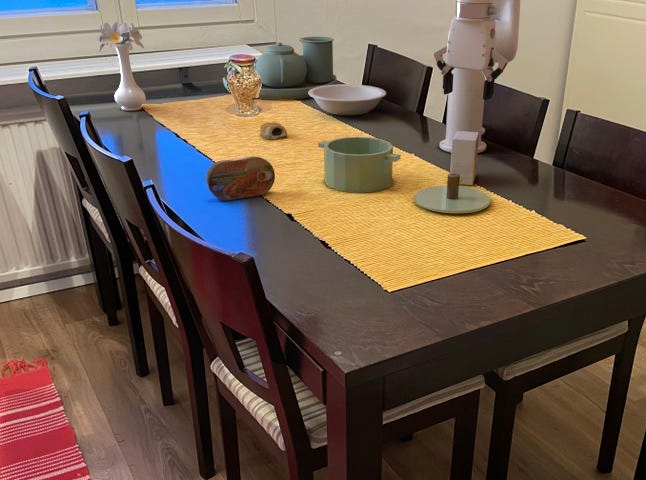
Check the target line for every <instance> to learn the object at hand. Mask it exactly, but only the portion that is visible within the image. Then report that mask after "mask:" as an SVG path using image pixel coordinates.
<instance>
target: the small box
mask: <svg viewBox="0 0 646 480" xmlns="http://www.w3.org/2000/svg"><path fill="white" fill-rule="evenodd" d="M478 140H479V133H478V132H465V131H456V133H455V136H454V138H453V139H452V152H450V153H451V154H450V169H449V171H450V172H449V174H452V173H454V174H459V175H460V180H459V185H463V186H464V185H466V186H473V185H474V182H475V179H476V175H477V164H478V163H477V162H478V153H477V151H478Z"/></svg>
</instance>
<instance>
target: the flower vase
mask: <svg viewBox="0 0 646 480" xmlns="http://www.w3.org/2000/svg"><path fill="white" fill-rule="evenodd" d="M99 27H100V32H101V33H100V34H99V35H98V36H97V37H98V41H99V43H100V45H99V53H100V52H101V51H102V49H103V48H104V46H105V45H106V46H108V45H109V50H110V51H114V50H116V53H117V56H118V60H119V66H120V76H121V77H120V83H119V87H118V88H117V89H116V91H115V94H114V101H115V102H116V104H117V105H119V106H120V107H121V110H122V111H126V112H127V111H129V112H134V111H139V110H142V108H143V106H142V105H144V104H145V102H146V100H147V96H146V93H145V92H144V90H143V89H141V87H139V86H138V84H137V83H136V81H135V78H134V75H133V71H132V68H131V60H130V51H132V50H133V49H134V47H133V44H132V43H134V44H135V45H136V46H139V47H140V48H142V49H145V46H144V44H143V43H142V42H141V40H142V39H143V36H142V34H141V32H140V31H139V30H138V29H136V28H135V25H134V23H133V22H131V23H130V26H129V25H128V24H127V23H126V22H122V24H121V25H120V24H119V23H118V22H117V21H116V22H114V23H113V24H112V27H111V25H110V24H109V23H108V22H104V24H103V27H102V25H101V24H100V25H99ZM103 28H104V29H103Z"/></svg>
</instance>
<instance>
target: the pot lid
mask: <svg viewBox="0 0 646 480" xmlns="http://www.w3.org/2000/svg"><path fill="white" fill-rule="evenodd" d="M459 180H460V175H459V174H454V173H452V174H450V173H448V174H447V180H446V181H447V182H446V183H447V184H446V185H435V186H429V187H425V188H422V189H420V190H418V191H417V192H416V193H414V198H413V200H414V202H415V204H417V206H419V207H421V208H423V209H426V210H429V211H431V212H436V213H437V212H438V213H444V214H468V213H469V214H470V213H475V212H479V211H482V210H484V209H486V208H488V207H489V206H490V204H491V198H490V196H489V194H487V193H486V192H484V191H481V190H479V189H475V188H472V187H468V186H461V185H460V184H459Z"/></svg>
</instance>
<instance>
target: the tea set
mask: <svg viewBox="0 0 646 480" xmlns="http://www.w3.org/2000/svg"><path fill="white" fill-rule="evenodd" d="M298 40H299V42H300V43H301V46H302V54H299V53H297V52H295V48H294V47H293V46H291V45H289V44H288V45H287V44H283V43H282V42H281V41H278V42H277V43H276V44H272V45H268V46H267V47H266V48H265V52H263V53H262V54H261V55H259V56H258V57H259V58H258V59H257V60H256V62H255V68H256V70H257V72H258V73H259V75H260V76H261V79H262V87H261V90H260V93H259V97H258V100H270V101H282V100H283V101H285V100H303V99H310V98H312V97H311V96H310V95H309V94H308V92H309V90H311V89H313V88H316V87H320V86H326V85H337V84H338V79H337V75H336V74H334V51H333V50H334V49H333V48H334V47H333V46H334V45H333V43H334V41H335V39H334V38H333V37H329V36H305V37H298ZM226 64H227V63H225V64H224V67H226ZM222 84H223V85H224V88H225V89H226V90H227V92H228V93H230V91H229V89H228V86H227V80H226V76H224V77H223V78H222ZM230 94H231V93H230Z"/></svg>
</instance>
